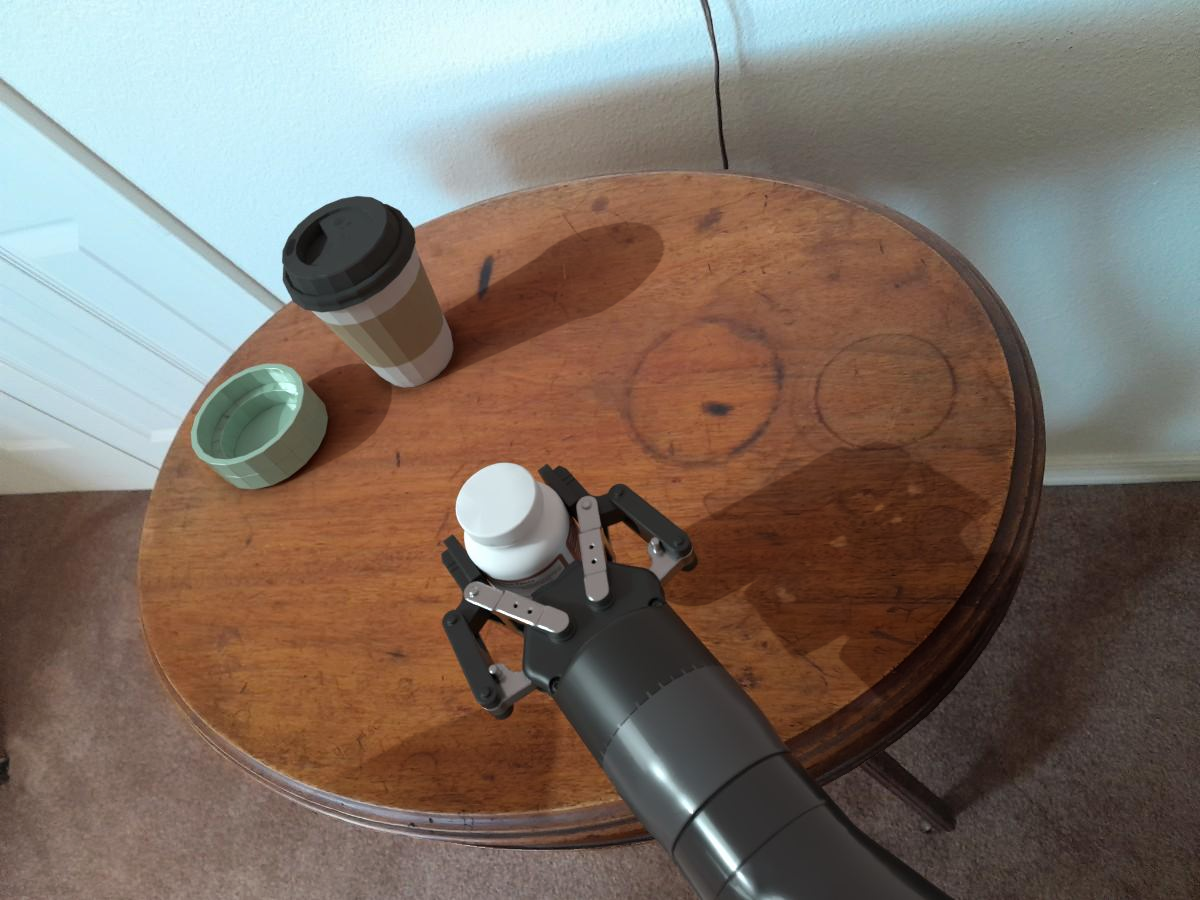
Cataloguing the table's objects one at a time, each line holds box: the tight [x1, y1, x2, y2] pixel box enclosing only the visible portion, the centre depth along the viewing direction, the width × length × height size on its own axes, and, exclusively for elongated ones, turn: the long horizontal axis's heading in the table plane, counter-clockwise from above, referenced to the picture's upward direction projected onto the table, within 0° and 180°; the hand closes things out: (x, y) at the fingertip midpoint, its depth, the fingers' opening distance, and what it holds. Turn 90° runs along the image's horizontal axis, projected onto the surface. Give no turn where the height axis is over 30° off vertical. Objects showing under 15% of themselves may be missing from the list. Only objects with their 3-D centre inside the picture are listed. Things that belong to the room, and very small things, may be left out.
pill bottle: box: [455, 462, 582, 600], centre depth 50 cm, size 6×6×11 cm
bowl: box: [190, 363, 329, 490], centre depth 76 cm, size 11×11×4 cm
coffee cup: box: [281, 195, 454, 388], centre depth 73 cm, size 11×11×15 cm
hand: (500, 509), depth 51 cm, fingers closed on pill bottle, 6 cm apart
